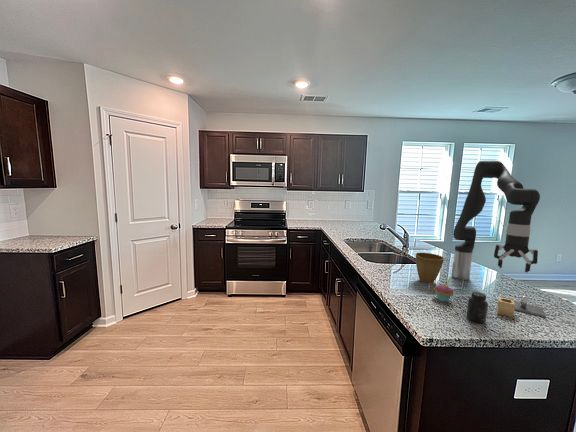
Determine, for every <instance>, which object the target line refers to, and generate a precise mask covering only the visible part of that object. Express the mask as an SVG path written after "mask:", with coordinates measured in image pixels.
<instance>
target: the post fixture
mask: <svg viewBox="0 0 576 432" xmlns="http://www.w3.org/2000/svg"><path fill="white" fill-rule="evenodd" d="M520 297H521V298H520V301H515V300H514V303H515V308H514V311H517V312H521V313H525V314H529V315H533V316H537V317H541V318H546V317H547V314H546V312H545V310H544V309H543V307H542V306H539V305H534V304H529V303H528V298H529V297H528V296H526V295H521V296H520Z"/></svg>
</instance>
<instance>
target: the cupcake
mask: <svg viewBox="0 0 576 432" xmlns="http://www.w3.org/2000/svg"><path fill="white" fill-rule="evenodd" d="M450 279H451V277H449V278H448V279H447V282H446V285H445V284H441V285H440V284H439V285H436V286H434V288H433V291H434V292H435V294H436V298H437V299H438V300H439V301H441V302H449V300H450V299H451V297H452V296H454V293H455V292H454V290H453V288H451V287H449V283H450Z"/></svg>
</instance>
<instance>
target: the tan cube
mask: <svg viewBox="0 0 576 432" xmlns="http://www.w3.org/2000/svg"><path fill="white" fill-rule="evenodd" d="M514 301H515V300H514V299H508V298H505V297H502V296H498V298H497V305H496V314H498V315H502V316H506V317H510V318H514V314H515V310H514V308H515V303H514Z"/></svg>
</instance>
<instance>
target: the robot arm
mask: <svg viewBox="0 0 576 432" xmlns="http://www.w3.org/2000/svg"><path fill="white" fill-rule="evenodd" d="M494 178H495V179H497V181H496V186H497V187H498V189H499V190H500V192H502V193H503V194H504V196H505V199H506V201H507V203H509V204H510V205H515V206H522V207H521V208H519V209H515V210H512V211H510V212H509V218H508V224H507V227H506V230H505V231H506V235H505V243H504V245H500V244H496V245H495V248H494V253H493V258H495V259H497V261H498V262H497V266H498V267H499V268H500V269H502V267H503V259H505V258H506V257H508V256H509V257H516V258H522V259H523V260H524V261H525V262H526V263H525V266H524V273H528V272H531V271H530V270H531V266H532V265H537V264H538V260H539V259H538V257H539V256H538V255H539V250H538V249H536V248H534V249H532V248H531V249H530V248H529V243H530V235H531V223H532V222H531V221H532V216H533V214H534V211H535V210H536V209H537V206H538V204H539V202H540V200H541V194H540V192H539V190H537V189H536V188H524V185H523V184H522V183H521V182H520V181H518V180H517V179H516V178H515V177H514V176H513V175H512V174H511V173H510V171H509V170H508V168H507V167H506V166H505V165H504V163H503V162H502V161H500V160H480V161H478V162H477V164H476V165H475V169H474V172H473V175H472V180H471V184H470V187H469V190H468V192H467V193H468V194H467V196H466V198H465V200H464V205H463V206H462V210H461V212H460V216H459V218H458V219H457V222H456V224H455V226H454V227H453V235H452V236H453V239H455V240H456V241H464V242H463V243H462V242H461V243H459V244H455V246H454V254H453V261H452V267H451V268H452V269H451V277H452V278H456V279H458V280H465V281H467V280H470V278H471V268H472V260H473V253H474V248H475V243H476V239H477V238H476V237H477V229H476V228H475V227H474V226H472V225H471V226H470V225H468V223H469V222H470V221H472V220H473V219H474V218H475V217H477V216H478V215H480V213H482V211H483V209H484V207H485V204H486V201H487V199H486V195H485V192H484V190H483V188H482V182H483V180H484V179H494ZM502 249H503V250H504V252H503V253H502V254H500V255H499V251H501V250H502ZM528 253H530V254H531V255H532V260H530V259H529V258H528V256H527V255H526V254H528Z"/></svg>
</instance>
